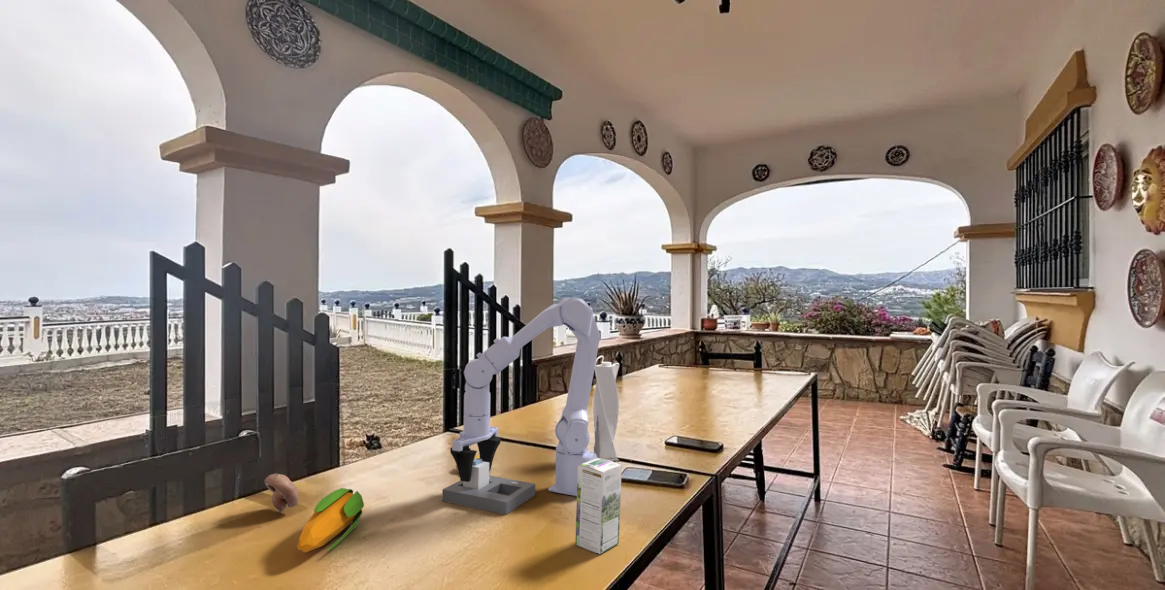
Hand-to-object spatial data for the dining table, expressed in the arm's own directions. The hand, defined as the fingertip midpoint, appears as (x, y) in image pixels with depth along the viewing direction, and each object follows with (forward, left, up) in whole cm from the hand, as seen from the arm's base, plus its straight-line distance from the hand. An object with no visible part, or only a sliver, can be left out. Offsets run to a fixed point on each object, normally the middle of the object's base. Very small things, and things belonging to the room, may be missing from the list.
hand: (475, 475), depth 116 cm
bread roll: (+10, -14, -5) cm, 17 cm away
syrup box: (-33, +10, -4) cm, 35 cm away
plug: (0, 0, -4) cm, 4 cm away
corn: (+10, +29, -5) cm, 31 cm away
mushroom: (+29, +25, -4) cm, 38 cm away
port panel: (-4, 0, -4) cm, 6 cm away
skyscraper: (-15, -39, -4) cm, 42 cm away
